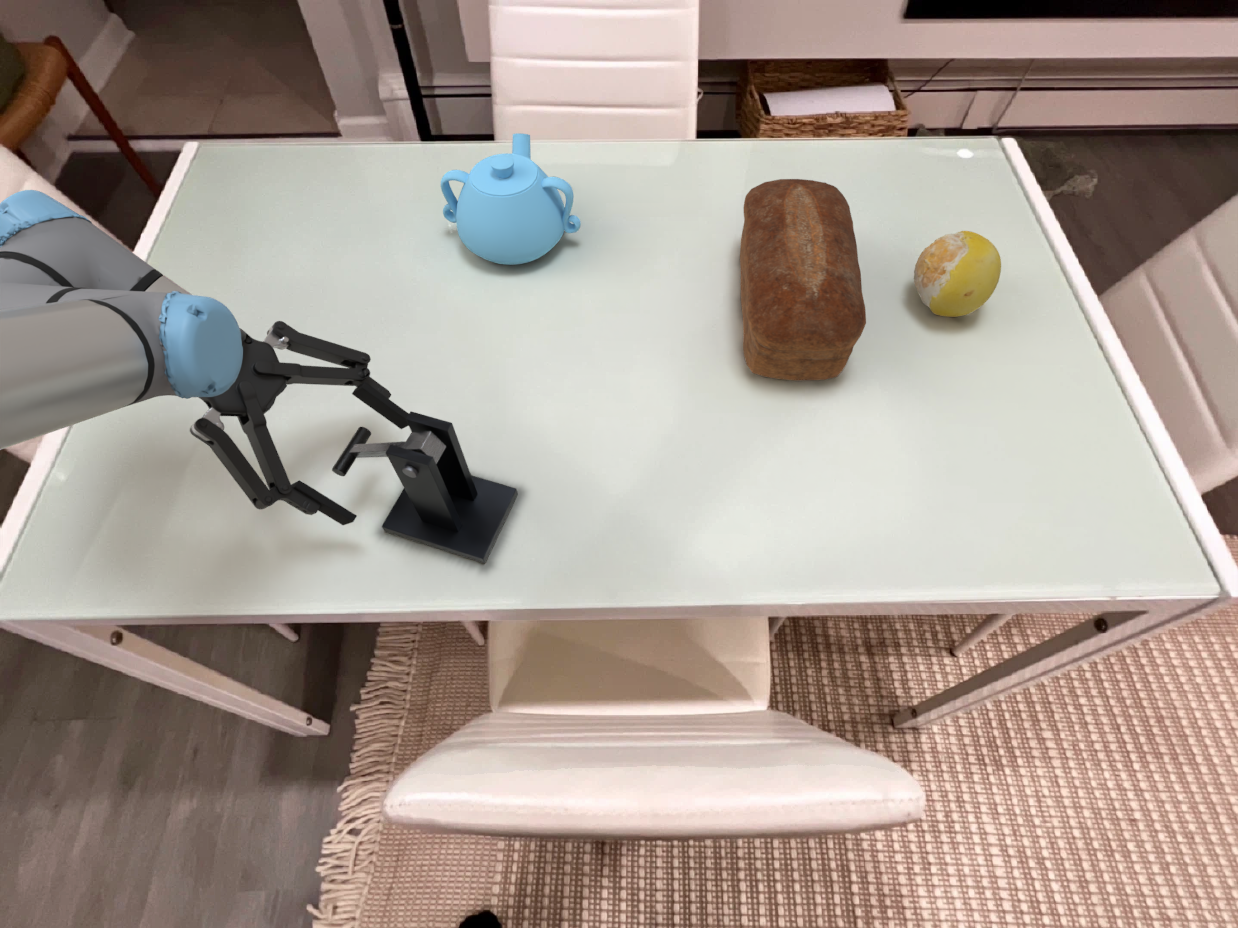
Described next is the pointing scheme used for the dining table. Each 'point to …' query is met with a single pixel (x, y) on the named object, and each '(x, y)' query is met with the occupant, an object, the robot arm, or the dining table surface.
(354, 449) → the lever
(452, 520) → the bracket
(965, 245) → the fruit
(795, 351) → the bread
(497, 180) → the teapot
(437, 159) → the dining table surface
